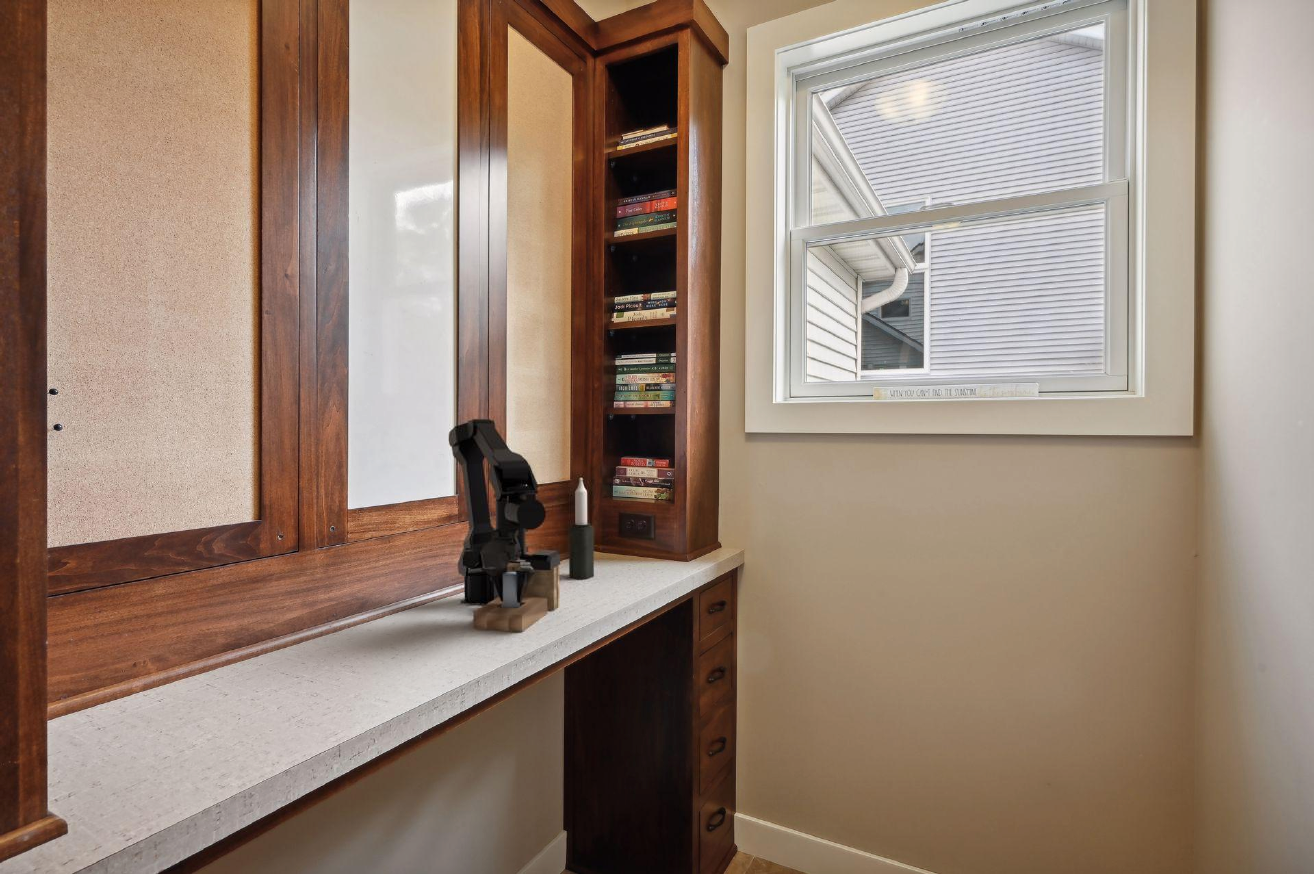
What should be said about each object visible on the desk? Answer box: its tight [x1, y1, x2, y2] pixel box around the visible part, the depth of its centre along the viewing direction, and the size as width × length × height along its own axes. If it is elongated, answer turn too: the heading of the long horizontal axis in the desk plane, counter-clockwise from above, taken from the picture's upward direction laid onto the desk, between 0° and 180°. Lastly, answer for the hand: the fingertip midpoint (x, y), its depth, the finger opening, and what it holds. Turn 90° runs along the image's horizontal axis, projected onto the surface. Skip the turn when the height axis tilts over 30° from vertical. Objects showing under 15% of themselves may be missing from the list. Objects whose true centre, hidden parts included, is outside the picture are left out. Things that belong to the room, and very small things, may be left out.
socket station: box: [472, 563, 560, 633], centre depth 134 cm, size 11×18×10 cm, turn 167°
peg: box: [503, 572, 520, 609], centre depth 131 cm, size 3×3×8 cm
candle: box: [568, 477, 595, 581], centre depth 168 cm, size 5×5×25 cm
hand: (511, 601), depth 132 cm, fingers closed on peg, 3 cm apart
